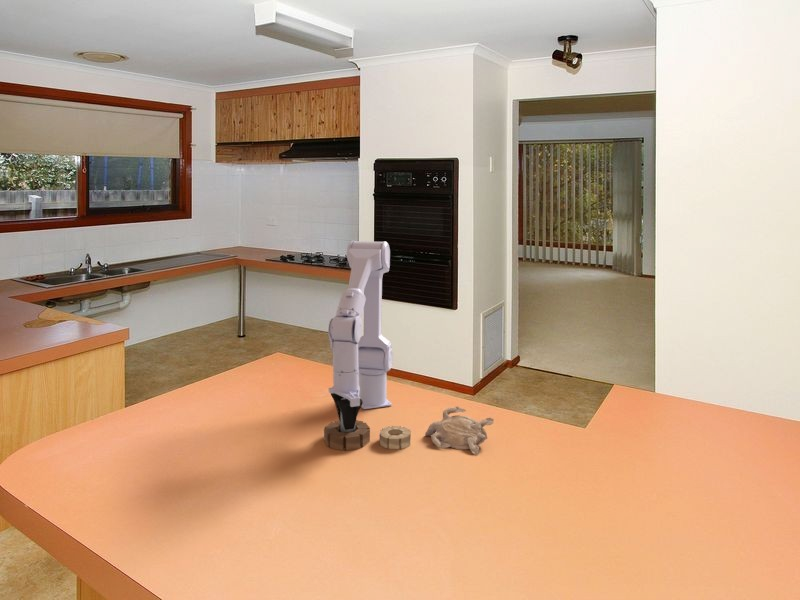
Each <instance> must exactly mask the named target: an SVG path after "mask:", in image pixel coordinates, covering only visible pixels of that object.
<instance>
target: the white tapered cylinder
mask: <svg viewBox="0 0 800 600" xmlns="http://www.w3.org/2000/svg"><path fill="white" fill-rule="evenodd" d="M343 399H345V398H342V399H341V400H343ZM340 432H342V433H350V432H355V426H354V429H348V430H345V428H344V425H343V419H342V414H341V428H340Z"/></svg>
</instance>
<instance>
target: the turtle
mask: <svg viewBox="0 0 800 600" xmlns="http://www.w3.org/2000/svg"><path fill="white" fill-rule="evenodd" d="M466 411H467V410H466V409H465V408H462V407H459V406H452V407H448V408H446V409H444V410H443V411H442V419H441V420H440V421H434V422H432V423H431V424H429V426H428V428H427V430H426V432H425V433H424V435H425V436H426V437H431V442H432V443H433V444H434V445H435V446H436V447H438V448H440V449H446V448H451V449H457V450H470V452H471V453H472V454H473V455H476V456H477V455H479V453H480V447H479V445H481V444H483V443H484V442H485V441H486V440H487V439H488V435H487V432H486V429H485V426H491V425H493V424H494V420H495V419H494V418H493V417H487V418H483V419H481V420H479V421H478V420H476V419H474V418H471V417H469V416H466V415H460V414H457V415H456V414H455V413H465V412H466ZM450 414H455V415H452V416H449V415H450Z"/></svg>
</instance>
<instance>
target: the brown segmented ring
mask: <svg viewBox="0 0 800 600" xmlns="http://www.w3.org/2000/svg"><path fill="white" fill-rule="evenodd" d="M340 428H341V423H340V421H339V420H334V421H332V422H330V423H328V424H327V425H325V426H324V429H323V439H324V440H323V441H324V443H325V444H326V446H327V447H329V448H330V449H334V450H338V451H344V450H346V451H352V450H357V449H361V447H362V448H364V447H366V445H367V444H369V442H370V441H371V440H370V439H371V427H370V426H369V425H368V423H367V422H364V421H363V420H357V419H356V422H355V432H350V433H342V432H340Z"/></svg>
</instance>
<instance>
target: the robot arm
mask: <svg viewBox="0 0 800 600" xmlns="http://www.w3.org/2000/svg"><path fill="white" fill-rule="evenodd" d="M346 257H347V258H346V259H347V262H348V264H349V268H350V276H349V282H348V287H347V289H345V290H343V291H342V292H341V296H340V300H339V303H338V307H337V310H336V313H335V316H334V317H333V318H331V319H330V320H329V323H328V329H327V330H328V331H327V333H328V334H327V335H328V340H329V344H330V347H329V348H330V350H332V372H333V373H332V374H333V375H332V380H333V385H332V387H329V388H327V389H328V390H327V391H328V393H329V394H330V396H331V397H332V400H333V402H334V404H335V407H336V411H337V412H336V413H337V417H338V421H340V423H341V414H342V419H343V425H344V428H345V430H348V429H354V426H355V422H356V420H357V417H358V413H359V411H360V409H361V408H362V409H363V410H369V409H375V408H384V407H390V406H391V407H392V406H393V404H392V402H391V401H390V400H389V399H388V398H387V372H390V370H391V369H392V365H393V361H394V355H393V353H394V352H393V349H392V348H393V346H392V342H391V341H390V340H389V339H388V338H386V337H385V336H384V335H383V334H382V316H383V315H382V313H383V312H382V311H383V310H382V307H383V305H382V304H383V303H382V302H383V300H382V298H383V297H382V296H383V275H384V274H385V273H389V271H390V266H391V261H390V260H391V249H390V245H389V243H388V242H387V241H369V240H368V241H367V240H366V241H363V240H350V242H349V243H348V244H347V250H346ZM362 317H363V319H362ZM362 329H363V330H362ZM362 331H363V335H362ZM342 398H345V399H343V400H341V399H342Z"/></svg>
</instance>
